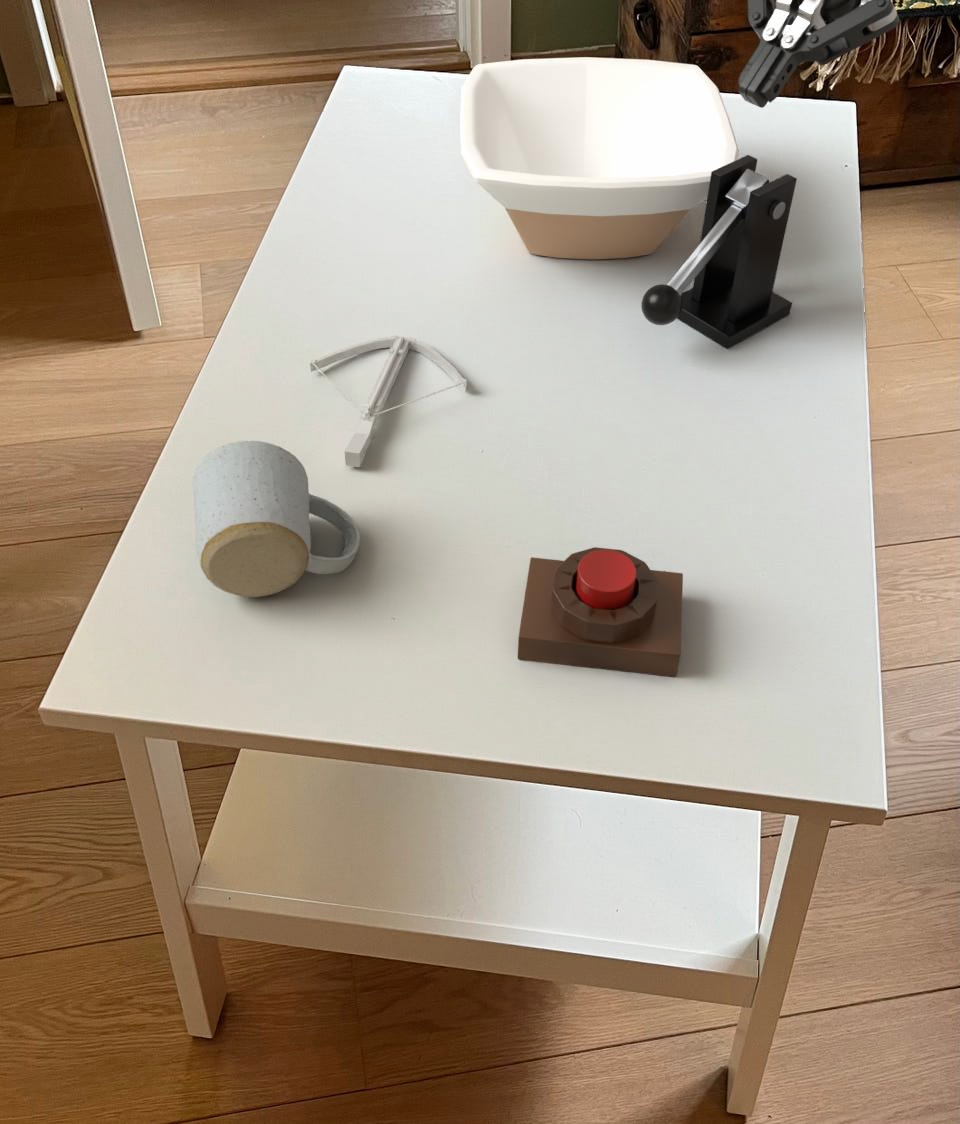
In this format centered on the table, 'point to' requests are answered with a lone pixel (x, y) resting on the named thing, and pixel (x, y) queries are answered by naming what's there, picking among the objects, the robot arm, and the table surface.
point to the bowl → (594, 149)
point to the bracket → (741, 261)
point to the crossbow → (381, 385)
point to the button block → (601, 620)
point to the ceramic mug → (261, 520)
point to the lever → (700, 253)
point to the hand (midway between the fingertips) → (750, 99)
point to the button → (606, 579)
